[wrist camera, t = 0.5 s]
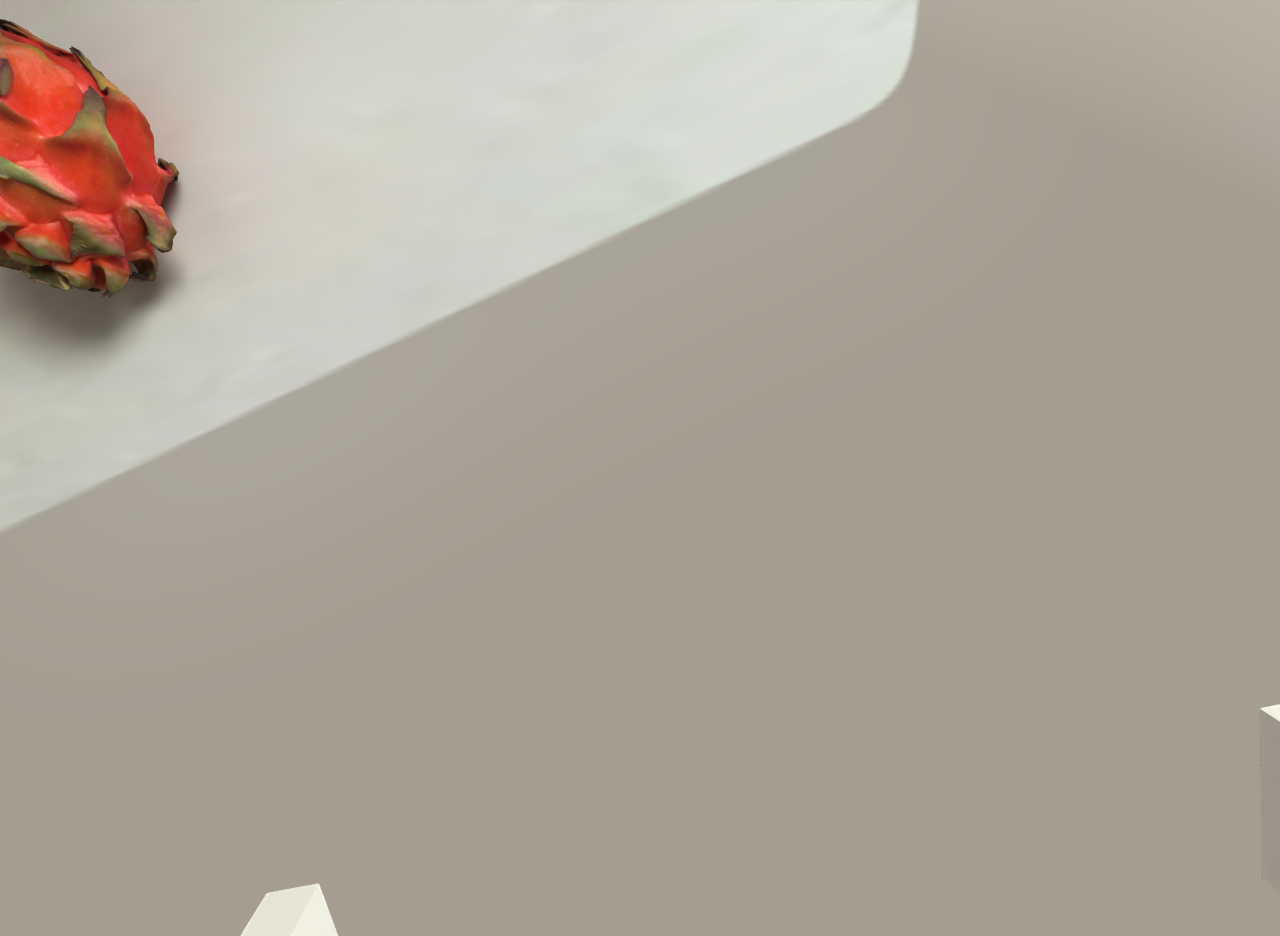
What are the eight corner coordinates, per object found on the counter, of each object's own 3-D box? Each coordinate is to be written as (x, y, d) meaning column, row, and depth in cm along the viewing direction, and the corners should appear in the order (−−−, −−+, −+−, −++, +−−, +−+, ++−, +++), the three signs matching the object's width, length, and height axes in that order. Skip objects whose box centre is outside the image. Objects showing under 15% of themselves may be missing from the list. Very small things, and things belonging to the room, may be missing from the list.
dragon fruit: (185, 319, 37) (94, 90, 36) (250, 251, 31) (145, -21, 31) (-33, 341, 30) (-148, 62, 30) (2, 259, 25) (-139, -86, 24)
